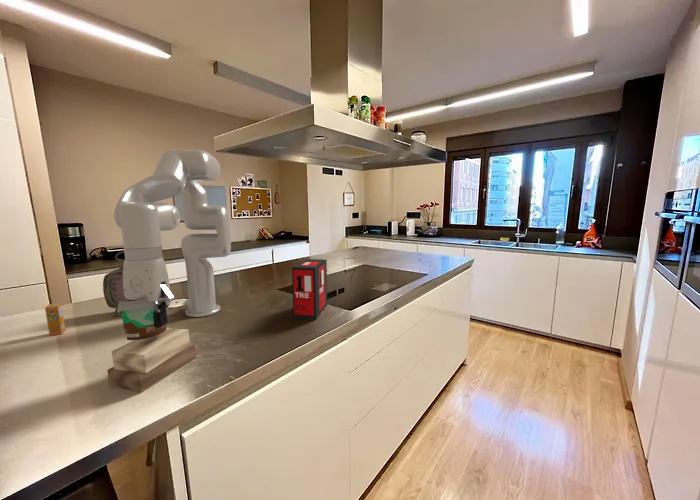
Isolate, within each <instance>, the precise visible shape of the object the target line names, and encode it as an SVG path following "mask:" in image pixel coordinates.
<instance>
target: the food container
mask: <svg viewBox="0 0 700 500" xmlns="http://www.w3.org/2000/svg"><path fill="white" fill-rule="evenodd" d="M159 298H162V295H160V297H159ZM161 302H163V300H160V301H158V304H159V305H160V303H161ZM154 306H156V305H155V301H154V302H147V301H146V299H145V300H138V301H135V300H133V301H127V302H121V301H119V304H118V309H117V312H118V311H119V312H120V314H121V320H122V323H123V328H124V332H125V337H126V340H127V341H134V340H141V339H146V338H150V337H154V336H157V335H159V334H161V333H163V332H164V331H165V330H166V328H168V325H167V324H168V323H167V324H165V325H163V326H161V327H158V328H155V326H154V317H153V313H154V312H155V310H154ZM167 311H168V309H166V312H167Z"/></svg>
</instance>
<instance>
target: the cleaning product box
mask: <svg viewBox="0 0 700 500" xmlns="http://www.w3.org/2000/svg"><path fill="white" fill-rule="evenodd" d="M327 261H328V260H327V259H319V258H318V259H314V258H312V259H311V258H305V259H303V260H302V261H300V262H298V263H297V264H295V265H293V266H292V267H291V276H292V277H291V281H292V282H291V283H292V284H291V285H292V313H293V314H292V315H293V317H292V318H293V320H294V319H295V320H306V319H314V320H313V321H317V320H318V319H319V317H320V316H321V314H322V313H323V312H322V311H324V310H325V309H326V308H325V307H327V306H328V276H327V275H328V274H327V273H328V269H327V267H328V266H327V265H328V264H327V263H328V262H327ZM324 308H325V309H324ZM321 312H322V313H321ZM319 315H320V316H319ZM318 316H319V317H318ZM316 319H317V320H316Z"/></svg>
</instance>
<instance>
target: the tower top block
mask: <svg viewBox="0 0 700 500" xmlns="http://www.w3.org/2000/svg"><path fill="white" fill-rule="evenodd" d="M189 330H190V329H186V328H185V329H184V328H174V327H173V328H172V327H167V328H166V330H165V331H164V332H163V333H161V334H159V335H157V336H154V337H150V338H146V339H141V340H131V341H129V342H128V343H126V344H124V345H122V346H120V347H118V348H116V349H114V350H112V351H111V357H112V364H113V367H114V369H117V370H125V371H133V372H141V373H147V372H149V371H150V370H152V369H153V368H155V367H157V366H158V365H160V364H161V363H163V362H164V361H166V360H167V359H169V358H170V357H172V356H174V355H175V354H177V353H178V352H180V351H181V350H183V349H184V348H186V347H187V346H189V345H190V344H191V343H190V341H191V339H190V333H189Z"/></svg>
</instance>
